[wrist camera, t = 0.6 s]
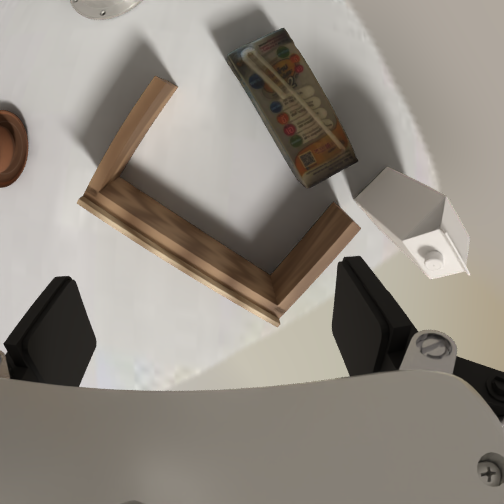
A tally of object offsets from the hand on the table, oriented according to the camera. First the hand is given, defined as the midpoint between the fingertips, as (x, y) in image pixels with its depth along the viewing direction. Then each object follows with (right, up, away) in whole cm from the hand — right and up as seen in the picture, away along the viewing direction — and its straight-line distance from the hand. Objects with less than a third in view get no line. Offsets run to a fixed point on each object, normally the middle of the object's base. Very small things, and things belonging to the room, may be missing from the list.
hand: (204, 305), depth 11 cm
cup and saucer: (-36, +18, +26) cm, 48 cm away
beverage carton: (+6, +20, +28) cm, 35 cm away
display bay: (-2, +10, +32) cm, 34 cm away
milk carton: (+21, +10, +34) cm, 41 cm away
